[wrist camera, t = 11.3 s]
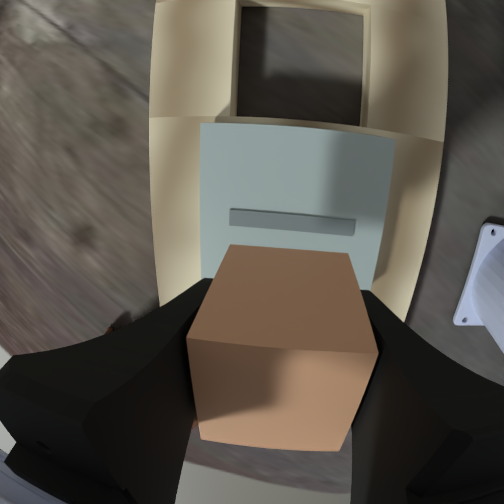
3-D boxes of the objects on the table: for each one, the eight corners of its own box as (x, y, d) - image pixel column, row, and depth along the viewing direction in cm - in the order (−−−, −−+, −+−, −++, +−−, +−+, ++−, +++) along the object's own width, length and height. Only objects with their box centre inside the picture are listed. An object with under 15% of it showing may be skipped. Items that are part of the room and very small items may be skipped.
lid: (386, 137, 14) (396, 139, 13) (361, 294, 18) (366, 310, 17) (209, 122, 15) (199, 123, 14) (208, 280, 19) (201, 295, 17)
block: (348, 252, 11) (378, 352, 6) (330, 344, 12) (339, 450, 8) (230, 244, 11) (185, 337, 6) (230, 336, 13) (201, 439, 8)
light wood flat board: (430, -14, 12) (442, -24, 10) (382, 351, 22) (387, 368, 20) (173, -32, 13) (162, -44, 12) (174, 331, 24) (165, 347, 22)
